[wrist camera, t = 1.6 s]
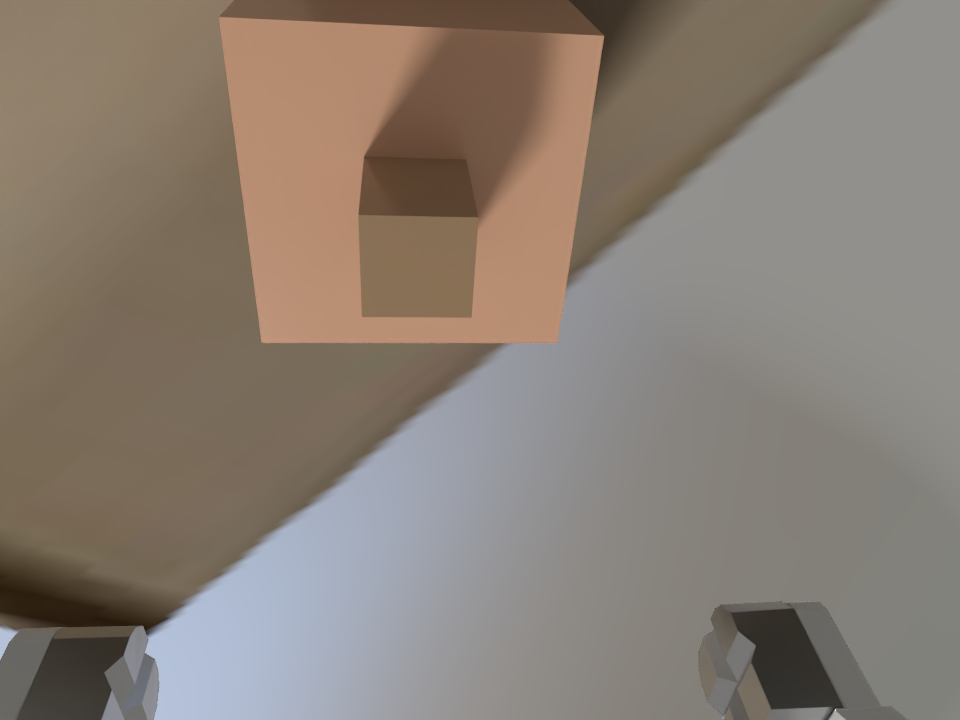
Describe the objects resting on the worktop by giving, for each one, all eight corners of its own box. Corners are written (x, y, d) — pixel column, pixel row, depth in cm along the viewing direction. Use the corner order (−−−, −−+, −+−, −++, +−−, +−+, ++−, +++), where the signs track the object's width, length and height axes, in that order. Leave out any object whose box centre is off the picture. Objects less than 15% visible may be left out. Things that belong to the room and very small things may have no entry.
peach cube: (296, 208, 34) (241, 419, 22) (274, -44, 28) (182, 55, 16) (516, 213, 35) (580, 416, 23) (541, -28, 29) (644, 76, 17)
